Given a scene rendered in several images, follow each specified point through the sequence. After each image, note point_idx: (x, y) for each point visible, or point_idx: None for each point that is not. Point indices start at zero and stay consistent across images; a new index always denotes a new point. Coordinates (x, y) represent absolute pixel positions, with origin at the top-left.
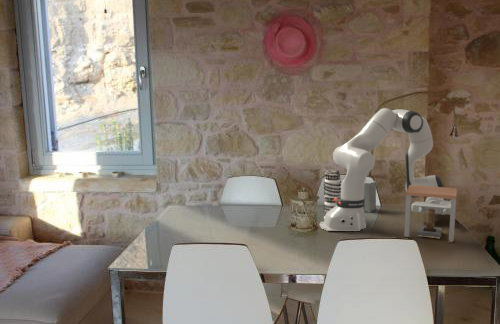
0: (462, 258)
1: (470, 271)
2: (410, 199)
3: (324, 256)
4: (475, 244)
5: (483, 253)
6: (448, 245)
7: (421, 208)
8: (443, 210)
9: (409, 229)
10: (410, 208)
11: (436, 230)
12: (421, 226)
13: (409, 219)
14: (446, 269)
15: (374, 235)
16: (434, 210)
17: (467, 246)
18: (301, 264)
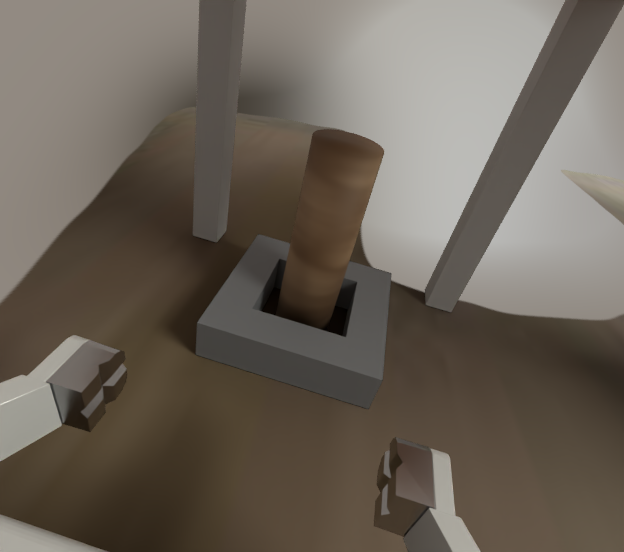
0: (240, 148)
1: (253, 117)
2: (550, 32)
3: (612, 210)
4: (93, 201)
5: (136, 152)
6: (242, 211)
7: (441, 522)
8: (40, 382)
9: (444, 264)
10: (513, 128)
11: (265, 280)
12: (365, 359)
13: (474, 190)
14: (309, 131)
15: (605, 335)
16: (319, 131)
17: (156, 193)
18: (620, 192)
